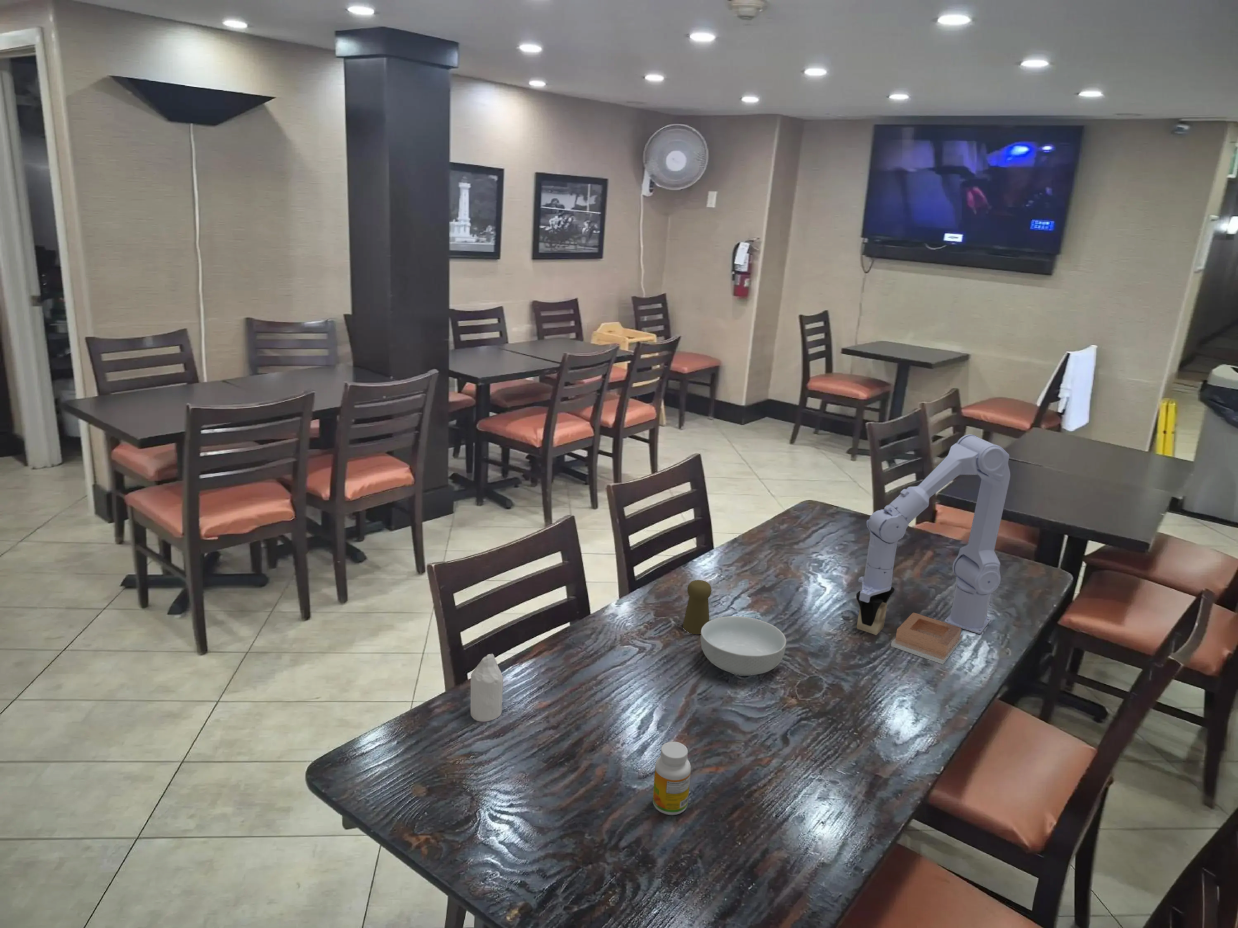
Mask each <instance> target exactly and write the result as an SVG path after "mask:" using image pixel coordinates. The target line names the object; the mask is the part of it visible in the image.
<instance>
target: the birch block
mask: <svg viewBox="0 0 1238 928" xmlns="http://www.w3.org/2000/svg"><path fill="white" fill-rule="evenodd" d="M887 607H888V603H884V602H882V603H881V605H880V606H879V608H878V610H877V613H876V616H875V619H874V622H873V624H872V626H868V625H865V624H862V619H861V610H860V608H859V610H858V616H857V623H856V630H859V631H864V632H866V633H869V634H871V635H872V634H873V635H874V636H877V635H878V634H879V633H880V632H881V631H882V630H883V629H884V627H885V621H886V615H887V610H888V609H887Z"/></svg>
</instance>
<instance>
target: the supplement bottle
mask: <svg viewBox="0 0 1238 928" xmlns="http://www.w3.org/2000/svg"><path fill="white" fill-rule="evenodd" d="M688 755H689V754H688V748H687V746H686V745H685V744H683V743H681V742H678V741H667V742H665V743H664V744H662V745H661V749H660V756H659V757H657V759H656V761H655V765H654V777H653V788H652V789H653V792H652V804H653V806H654V808H655V809H656V810H657V811H659V812H660V813H662V814H664V815H667V816H668V815H669V816H675V815H680V814H681V813H684V811H686V810H687V808H688V803H689V795H690V782H691V774H692V773H691V772H692V770H691V769H692V767H691V763H690V761H689V759H688Z"/></svg>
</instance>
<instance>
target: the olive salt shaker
mask: <svg viewBox="0 0 1238 928" xmlns="http://www.w3.org/2000/svg"><path fill="white" fill-rule="evenodd" d="M712 591H713V590H712V586H711V584H710V583H709V582H708V581H706V580H702V579H694V580H692V581H690V582H689V583H688V585H687V595H688V600H687V604H686V608H685V609H686V610H685V613H684V618H683V623H682V626H683V627H682V629H683V628H684V629H685V630H686V631H688V632H689V633H692V634H691V635H693V634H701V629H702V627H703V626H704V625H705V624H706V623H707V622H709V621H710V610H709V609H710V607H709V606H710V605H709V603H710V602H709V598H710V597H711V594H712ZM689 633H688V634H689Z"/></svg>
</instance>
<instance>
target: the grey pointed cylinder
mask: <svg viewBox="0 0 1238 928" xmlns="http://www.w3.org/2000/svg"><path fill="white" fill-rule="evenodd" d="M503 689H504V676H503V674H502V671H501V669H500V666H498V662H497V659H496V658H495V655H494V654H493V653H489V654H487V655H486V656H484V657H483V658H482V659H481V661H480V662H479V663H478V664H477V666H475V668H474V669H473V670H472V672H471V675H470V716H471V718H473V719H474V721H477V722H481V723H483V722H491V721H493V720H495V719H497V718H499V717H500V716H501V715H502V712H503V691H504V690H503Z"/></svg>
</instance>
